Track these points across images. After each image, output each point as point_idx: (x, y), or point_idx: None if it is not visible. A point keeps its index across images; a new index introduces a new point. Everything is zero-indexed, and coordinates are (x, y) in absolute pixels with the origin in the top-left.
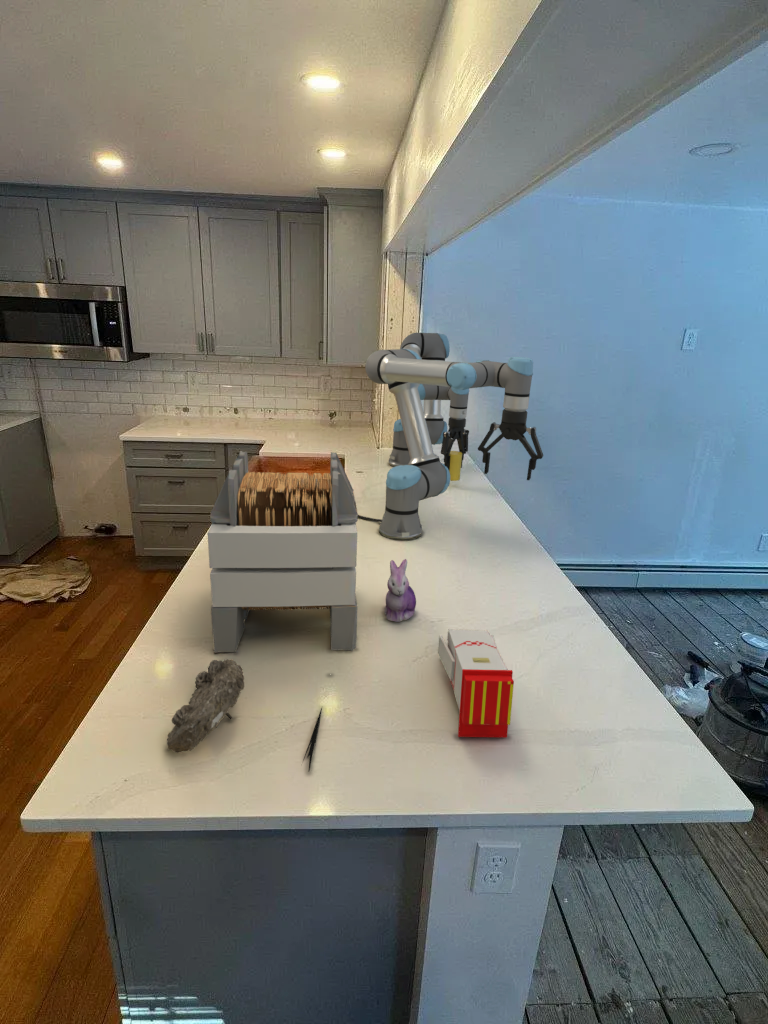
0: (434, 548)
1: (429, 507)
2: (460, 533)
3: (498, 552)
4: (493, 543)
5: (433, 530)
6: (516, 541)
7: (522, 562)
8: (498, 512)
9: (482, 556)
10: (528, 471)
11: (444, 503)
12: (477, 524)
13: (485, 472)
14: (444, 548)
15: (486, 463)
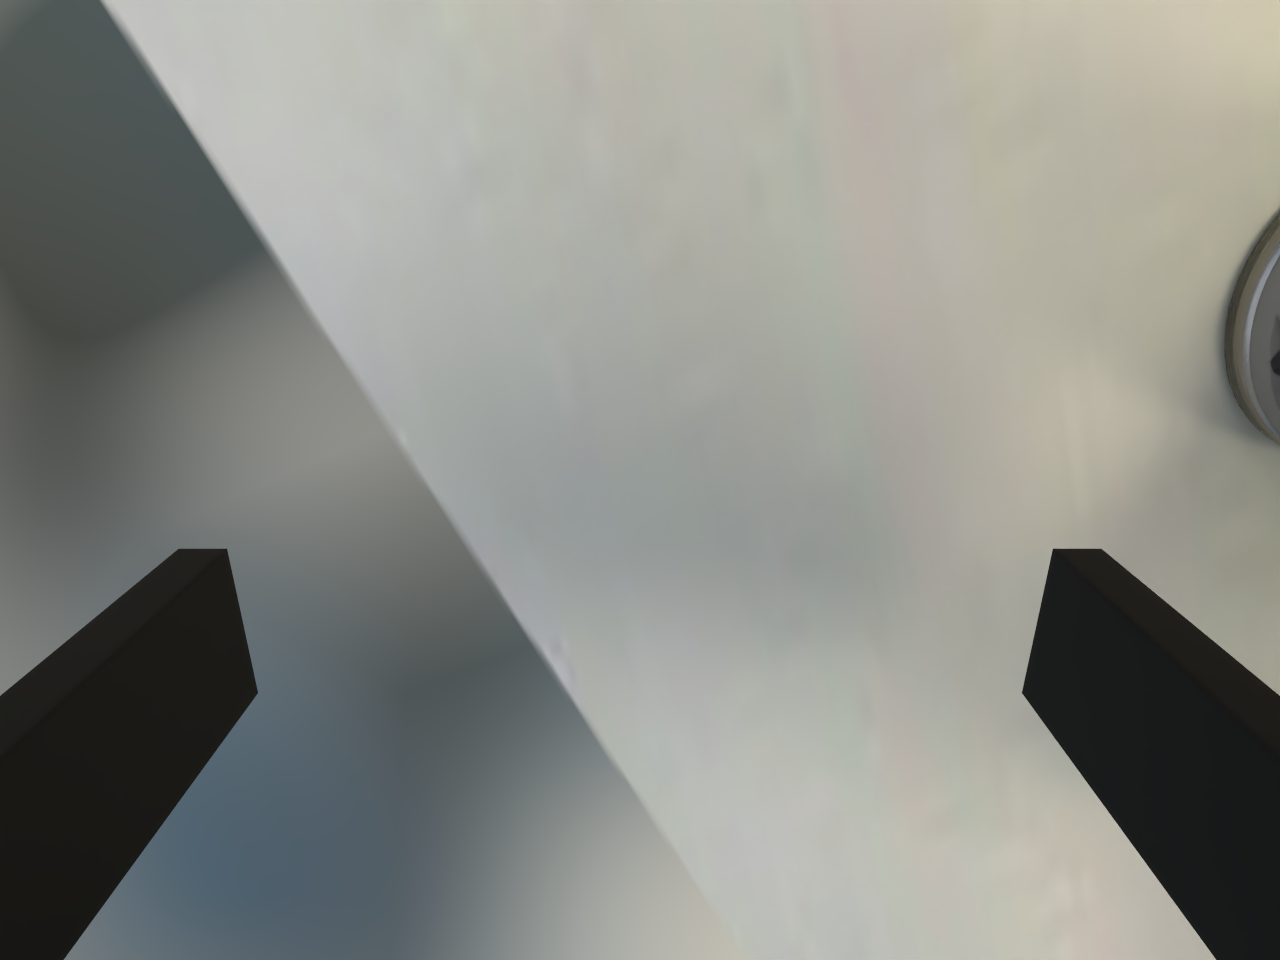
0: (1096, 120)
1: None
2: (945, 496)
3: (630, 292)
4: (696, 434)
5: (1140, 458)
6: (563, 540)
7: (433, 196)
8: (768, 916)
9: (720, 155)
10: (97, 651)
11: (1115, 911)
12: (859, 692)
13: (1092, 561)
14: (1019, 161)
15: (1230, 683)
